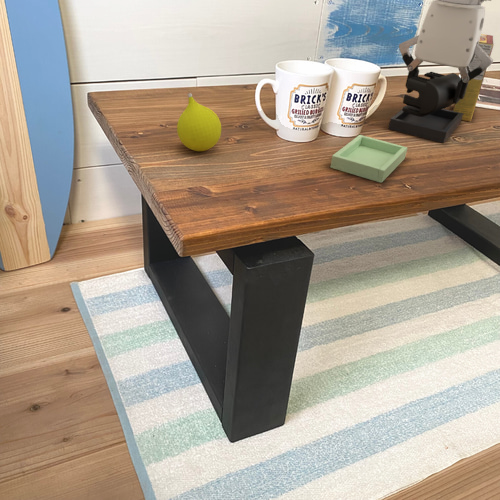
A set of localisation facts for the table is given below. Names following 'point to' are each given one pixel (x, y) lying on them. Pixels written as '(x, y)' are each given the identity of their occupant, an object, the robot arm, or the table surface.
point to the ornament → (198, 126)
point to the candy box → (474, 82)
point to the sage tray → (369, 158)
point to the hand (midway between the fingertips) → (432, 96)
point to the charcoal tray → (427, 124)
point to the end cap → (430, 93)
